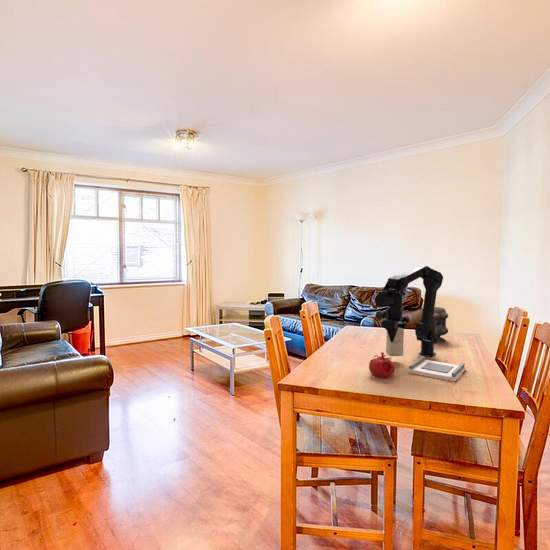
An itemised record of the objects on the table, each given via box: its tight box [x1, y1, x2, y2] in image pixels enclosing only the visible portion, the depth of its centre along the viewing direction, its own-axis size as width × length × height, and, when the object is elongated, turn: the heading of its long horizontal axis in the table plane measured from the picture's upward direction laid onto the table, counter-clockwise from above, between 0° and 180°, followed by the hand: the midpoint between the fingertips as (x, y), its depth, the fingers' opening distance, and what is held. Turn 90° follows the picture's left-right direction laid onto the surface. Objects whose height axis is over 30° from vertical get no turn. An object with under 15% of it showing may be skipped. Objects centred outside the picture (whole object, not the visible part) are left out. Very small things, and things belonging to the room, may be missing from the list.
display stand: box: [407, 355, 467, 382], centre depth 161 cm, size 18×18×3 cm
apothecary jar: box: [433, 306, 449, 343], centre depth 215 cm, size 12×12×18 cm
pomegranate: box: [368, 351, 396, 379], centre depth 155 cm, size 10×10×9 cm
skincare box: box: [385, 327, 405, 357], centre depth 174 cm, size 6×4×12 cm
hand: (395, 340), depth 174 cm, fingers closed on skincare box, 7 cm apart
